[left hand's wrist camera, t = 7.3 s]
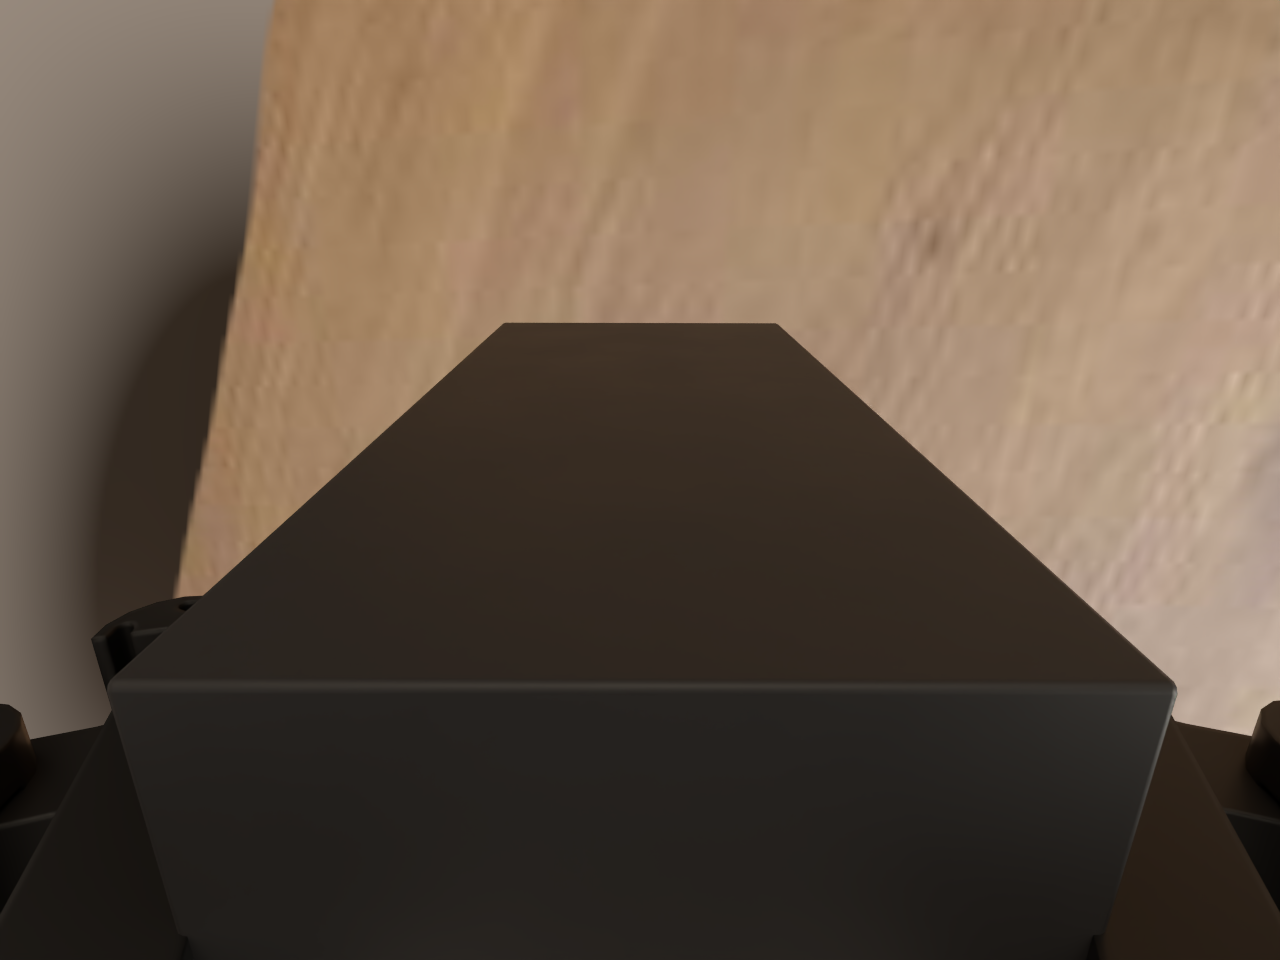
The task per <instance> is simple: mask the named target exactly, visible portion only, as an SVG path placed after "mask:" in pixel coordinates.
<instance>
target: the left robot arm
mask: <svg viewBox="0 0 1280 960" xmlns="http://www.w3.org/2000/svg"><path fill="white" fill-rule="evenodd" d="M201 597H202V596H189V597H181V598H176V599H171V600H166V601H161V602H157V603H154V604H151V605H148V606H145V607H142V608H140V609H137V610H134V611H131V612H129V613H127V614H125V615H123V616H121V617H120V618H118V619H116V620H114V621H112V622H110V623H109V624H107V625H105V626H104V627H103V628H102V629H101V630H100V631H99V632H98V633H97V634H96V635H95V636H94V637H93V638H92V639H91V640H92V644H93V647H94V650H95V654H96V657H97V661H98V664H99V667H100V671H101V674H102V677H103V681H104V684H105V688H106V691H107V687H108V684H109V681H110V680H111V679H112V678H113V677H114V676H115V675H116V674H117V673H118V672H120V671H121V670H122V669H123V668H124V667H125V666H126V665H127V664H128V663H129V662H131V661H132V660H133V659H134V658H135V657H136V656H137V655H138V654H139V653H141V652H142V651H143V650H144V649H145V648H146V647H147V646H148V645H149V644H150V643H152V642H153V641H154V640H155V639H156V638H157V637H158V636H159V635H160V634H161V633H163V632H164V631H165V630H166V629H167V628H168V627H169V626H170V625H171V624H173V623H174V622H175V621H176V620H177V619H178V618H179V617H180V616H181V615H182V614H184V613H185V612H186V611H187V610H188V609H189V608H190V607H191V606H192V605H193V604H195V603H196V602H197V601H198V600H199V599H200V598H201ZM110 705H111V704H110ZM0 960H194V958H193V955H192V951H191V948H190V944H189V941H188V938H187V936H182V935H180V934H178V932H177V929H176V925H175V922H174V919H173V915H172V912H171V908H170V905H169V902H168V898H167V895H166V891H165V888H164V885H163V881H162V878H161V874H160V871H159V868H158V864H157V861H156V857H155V854H154V851H153V847H152V844H151V840H150V837H149V834H148V830H147V827H146V823H145V820H144V817H143V813H142V810H141V806H140V803H139V800H138V796H137V793H136V789H135V786H134V783H133V779H132V776H131V772H130V769H129V766H128V762H127V759H126V755H125V752H124V749H123V745H122V742H121V738H120V735H119V732H118V728H117V725H116V721H115V718H114V715H113V711H111V713H110V715H109V716H108V718H107V720H106V722H105V724H104V725H102V726H98V727H93V728H88V729H83V730H77V731H72V732H67V733H62V734H57V735H51V736H46V737H41V738H36V739H31V740H30V738H29V735H28V732H27V729H26V727H25V724H24V721H23V718H22V715H21V713H20V712H19V711H17V710H16V709H14V708H13V707H11V706H10V705H6V704H0ZM1086 960H1280V701H1273V702H1271V703H1270V704H1268V705H1267V706H1265V707H1264V708H1262V709H1261V711H1260V714H1259V717H1258V720H1257V723H1256V726H1255V729H1254V732H1253V734H1252V736H1248V735H1242V734H1237V733H1232V732H1227V731H1221V730H1216V729H1211V728H1206V727H1200V726H1195V725H1190V724H1185V723H1181V722H1177V721H1175V720H1174V719H1173V717H1172V715H1171V717H1170V720H1169V723H1168V727H1167V730H1166V733H1165V736H1164V740H1163V743H1162V746H1161V750H1160V753H1159V756H1158V760H1157V763H1156V766H1155V770H1154V773H1153V776H1152V779H1151V783H1150V786H1149V789H1148V793H1147V796H1146V799H1145V803H1144V806H1143V809H1142V813H1141V816H1140V819H1139V822H1138V826H1137V829H1136V832H1135V836H1134V839H1133V842H1132V846H1131V849H1130V852H1129V856H1128V859H1127V862H1126V865H1125V869H1124V872H1123V875H1122V879H1121V882H1120V885H1119V889H1118V892H1117V895H1116V898H1115V902H1114V905H1113V908H1112V912H1111V915H1110V918H1109V922H1108V925H1107V928H1106V932H1105V933H1103V934H1101V935H1093V937H1092V941H1091V944H1090V948H1089V951H1088V955H1087V958H1086Z"/></svg>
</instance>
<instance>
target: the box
mask: <svg viewBox="0 0 1280 960" xmlns="http://www.w3.org/2000/svg"><path fill="white" fill-rule="evenodd" d="M107 694H108V698H109V701H110V704H111V708H112V711H113V715H114V718H115V721H116V725H117V728H118V732H119V735H120V738H121V742H122V745H123V749H124V752H125V755H126V759H127V762H128V766H129V769H130V772H131V776H132V779H133V783H134V786H135V789H136V793H137V796H138V800H139V803H140V806H141V810H142V813H143V817H144V820H145V823H146V827H147V830H148V834H149V837H150V840H151V844H152V847H153V851H154V854H155V857H156V861H157V864H158V868H159V871H160V874H161V878H162V881H163V885H164V888H165V891H166V895H167V898H168V902H169V905H170V908H171V912H172V915H173V919H174V922H175V925H176V929H177V932H178V934H180V935H182V936H187V938H188V941H189V944H190V948H191V951H192V955H193V958H194V960H1086V958H1087V955H1088V951H1089V948H1090V944H1091V941H1092V937H1093V935H1101V934H1103V933H1105V932H1106V928H1107V925H1108V922H1109V918H1110V915H1111V912H1112V908H1113V905H1114V902H1115V898H1116V895H1117V892H1118V889H1119V885H1120V882H1121V879H1122V875H1123V872H1124V869H1125V865H1126V862H1127V859H1128V856H1129V852H1130V849H1131V846H1132V842H1133V839H1134V836H1135V832H1136V829H1137V826H1138V822H1139V819H1140V816H1141V813H1142V809H1143V806H1144V803H1145V799H1146V796H1147V793H1148V789H1149V786H1150V783H1151V779H1152V776H1153V773H1154V770H1155V766H1156V763H1157V760H1158V756H1159V753H1160V750H1161V746H1162V743H1163V740H1164V736H1165V733H1166V730H1167V727H1168V723H1169V720H1170V717H1171V713H1172V710H1173V707H1174V703H1175V700H1176V697H1177V687H1176V685H1175V683H1174V682H1173V681H1172V680H1171V679H1170V678H1169V677H1168V676H1167V675H1166V674H1165V673H1163V672H1162V671H1161V670H1160V669H1159V668H1158V667H1157V666H1156V665H1155V664H1153V663H1152V662H1151V661H1150V660H1149V659H1148V658H1147V657H1146V656H1145V655H1143V654H1142V653H1141V652H1140V651H1139V650H1138V649H1137V648H1136V647H1135V646H1133V645H1132V644H1131V643H1130V642H1129V641H1128V640H1127V639H1126V638H1125V637H1124V636H1122V635H1121V634H1120V633H1119V632H1118V631H1117V630H1116V629H1115V628H1114V627H1112V626H1111V625H1110V624H1109V623H1108V622H1107V621H1106V620H1105V619H1104V618H1102V617H1101V616H1100V615H1099V614H1098V613H1097V612H1096V611H1095V610H1094V609H1093V608H1091V607H1090V606H1089V605H1088V604H1087V603H1086V602H1085V601H1084V600H1083V599H1081V598H1080V597H1079V596H1078V595H1077V594H1076V593H1075V592H1074V591H1073V590H1071V589H1070V588H1069V587H1068V586H1067V585H1066V584H1065V583H1064V582H1063V581H1061V580H1060V579H1059V578H1058V577H1057V576H1056V575H1055V574H1054V573H1053V572H1052V571H1050V570H1049V569H1048V568H1047V567H1046V566H1045V565H1044V564H1043V563H1042V562H1040V561H1039V560H1038V559H1037V558H1036V557H1035V556H1034V555H1033V554H1032V553H1030V552H1029V551H1028V550H1027V549H1026V548H1025V547H1024V546H1023V545H1022V544H1020V543H1019V542H1018V541H1017V540H1016V539H1015V538H1014V537H1013V536H1012V535H1011V534H1009V533H1008V532H1007V531H1006V530H1005V529H1004V528H1003V527H1002V526H1001V525H999V524H998V523H997V522H996V521H995V520H994V519H993V518H992V517H991V516H989V515H988V514H987V513H986V512H985V511H984V510H983V509H982V508H981V507H980V506H978V505H977V504H976V503H975V502H974V501H973V500H972V499H971V498H970V497H968V496H967V495H966V494H965V493H964V492H963V491H962V490H961V489H960V488H958V487H957V486H956V485H955V484H954V483H953V482H952V481H951V480H950V479H948V478H947V477H946V476H945V475H944V474H943V473H942V472H941V471H940V470H939V469H937V468H936V467H935V466H934V465H933V464H932V463H931V462H930V461H929V460H927V459H926V458H925V457H924V456H923V455H922V454H921V453H920V452H919V451H917V450H916V449H915V448H914V447H913V446H912V445H911V444H910V443H909V442H908V441H906V440H905V439H904V438H903V437H902V436H901V435H900V434H899V433H898V432H896V431H895V430H894V429H893V428H892V427H891V426H890V425H889V424H888V423H886V422H885V421H884V420H883V419H882V418H881V417H880V416H879V415H878V414H876V413H875V412H874V411H873V410H872V409H871V408H870V407H869V406H868V405H867V404H865V403H864V402H863V401H862V400H861V399H860V398H859V397H858V396H857V395H855V394H854V393H853V392H852V391H851V390H850V389H849V388H848V387H847V386H845V385H844V384H843V383H842V382H841V381H840V380H839V379H838V378H837V377H835V376H834V375H833V374H832V373H831V372H830V371H829V370H828V369H827V368H826V367H824V366H823V365H822V364H821V363H820V362H819V361H818V360H817V359H816V358H814V357H813V356H812V355H811V354H810V353H809V352H808V351H807V350H806V349H804V348H803V347H802V346H801V345H800V344H799V343H798V342H797V341H796V340H795V339H793V338H792V337H791V336H790V335H789V334H788V333H787V332H786V331H785V330H783V329H782V328H781V327H780V326H779V325H778V324H776V323H504V324H502V325H501V326H500V327H499V328H498V329H497V330H496V331H495V332H494V333H493V334H491V335H490V336H489V337H488V338H487V339H486V340H485V341H484V342H483V343H481V344H480V345H479V346H478V347H477V348H476V349H475V350H474V351H473V352H472V353H470V354H469V355H468V356H467V357H466V358H465V359H464V360H463V361H462V362H461V363H459V364H458V365H457V366H456V367H455V368H454V369H453V370H452V371H451V372H449V373H448V374H447V375H446V376H445V377H444V378H443V379H442V380H441V381H440V382H438V383H437V384H436V385H435V386H434V387H433V388H432V389H431V390H430V391H429V392H427V393H426V394H425V395H424V396H423V397H422V398H421V399H420V400H419V401H417V402H416V403H415V404H414V405H413V406H412V407H411V408H410V409H409V410H408V411H406V412H405V413H404V414H403V415H402V416H401V417H400V418H399V419H398V420H397V421H395V422H394V423H393V424H392V425H391V426H390V427H389V428H388V429H387V430H385V431H384V432H383V433H382V434H381V435H380V436H379V437H378V438H377V439H376V440H374V441H373V442H372V443H371V444H370V445H369V446H368V447H367V448H366V449H365V450H363V451H362V452H361V453H360V454H359V455H358V456H357V457H356V458H355V459H353V460H352V461H351V462H350V463H349V464H348V465H347V466H346V467H345V468H344V469H342V470H341V471H340V472H339V473H338V474H337V475H336V476H335V477H334V478H333V479H331V480H330V481H329V482H328V483H327V484H326V485H325V486H324V487H323V488H321V489H320V490H319V491H318V492H317V493H316V494H315V495H314V496H313V497H312V498H310V499H309V500H308V501H307V502H306V503H305V504H304V505H303V506H302V507H301V508H299V509H298V510H297V511H296V512H295V513H294V514H293V515H292V516H291V517H289V518H288V519H287V520H286V521H285V522H284V523H283V524H282V525H281V526H280V527H278V528H277V529H276V530H275V531H274V532H273V533H272V534H271V535H270V536H269V537H267V538H266V539H265V540H264V541H263V542H262V543H261V544H260V545H259V546H257V547H256V548H255V549H254V550H253V551H252V552H251V553H250V554H249V555H248V556H246V557H245V558H244V559H243V560H242V561H241V562H240V563H239V564H238V565H237V566H235V567H234V568H233V569H232V570H231V571H230V572H229V573H228V574H227V575H225V576H224V577H223V578H222V579H221V580H220V581H219V582H218V583H217V584H216V585H214V586H213V587H212V588H211V589H210V590H209V591H208V592H207V593H206V594H205V595H203V596H202V597H201V598H200V599H199V600H198V601H197V602H196V603H195V604H193V605H192V606H191V607H190V608H189V609H188V610H187V611H186V612H185V613H184V614H182V615H181V616H180V617H179V618H178V619H177V620H176V621H175V622H174V623H173V624H171V625H170V626H169V627H168V628H167V629H166V630H165V631H164V632H163V633H161V634H160V635H159V636H158V637H157V638H156V639H155V640H154V641H153V642H152V643H150V644H149V645H148V646H147V647H146V648H145V649H144V650H143V651H142V652H141V653H139V654H138V655H137V656H136V657H135V658H134V659H133V660H132V661H131V662H129V663H128V664H127V665H126V666H125V667H124V668H123V669H122V670H121V671H120V672H118V673H117V674H116V675H115V676H114V677H113V678H112V679H111V680H110V681H109V684H108V687H107Z"/></svg>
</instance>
